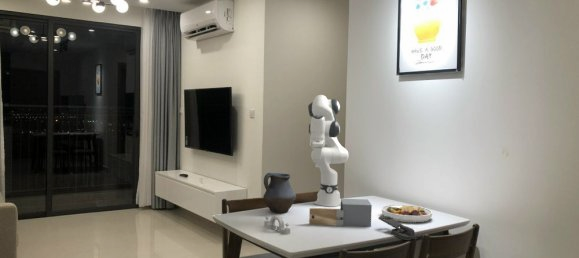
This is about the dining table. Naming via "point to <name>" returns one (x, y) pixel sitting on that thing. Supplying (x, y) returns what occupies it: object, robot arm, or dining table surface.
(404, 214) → the bowl
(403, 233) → the dark grey clamp
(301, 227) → the dining table surface
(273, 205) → the pitcher
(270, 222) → the gateway
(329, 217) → the cabinet door
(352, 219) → the cabinet
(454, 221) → the dining table surface
